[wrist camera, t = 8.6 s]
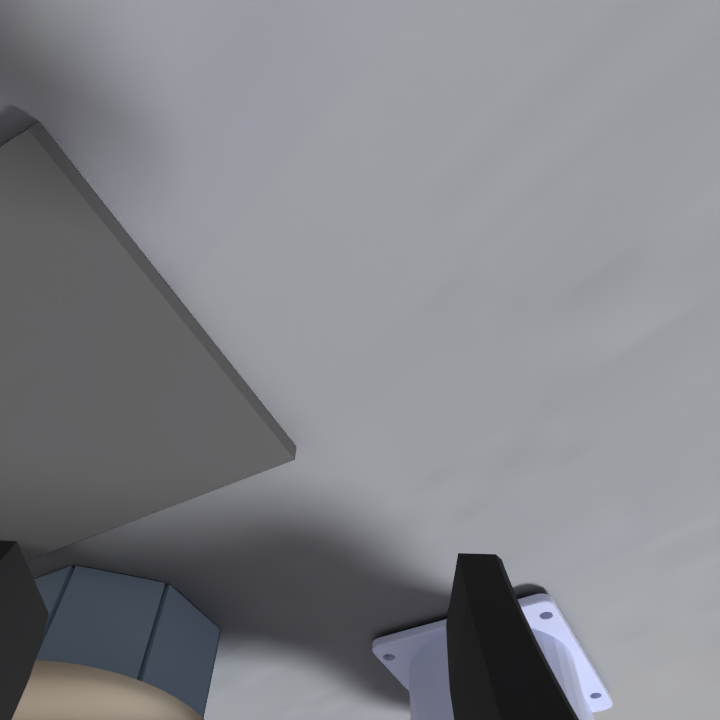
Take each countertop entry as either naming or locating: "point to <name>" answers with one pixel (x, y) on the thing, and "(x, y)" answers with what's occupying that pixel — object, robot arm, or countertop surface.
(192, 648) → the bowl
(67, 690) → the lid
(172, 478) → the mat
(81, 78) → the countertop surface
